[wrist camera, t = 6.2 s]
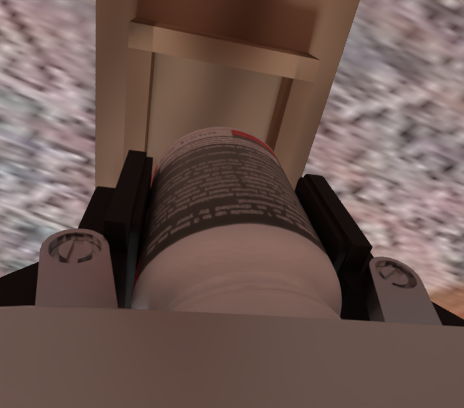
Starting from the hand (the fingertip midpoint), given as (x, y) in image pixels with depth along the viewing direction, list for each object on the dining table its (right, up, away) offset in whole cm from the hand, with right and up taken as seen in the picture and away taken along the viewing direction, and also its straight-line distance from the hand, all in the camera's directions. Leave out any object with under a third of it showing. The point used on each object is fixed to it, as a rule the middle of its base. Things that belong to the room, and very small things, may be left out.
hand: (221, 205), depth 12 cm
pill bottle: (0, +1, +1) cm, 2 cm away
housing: (-2, +1, +12) cm, 12 cm away
